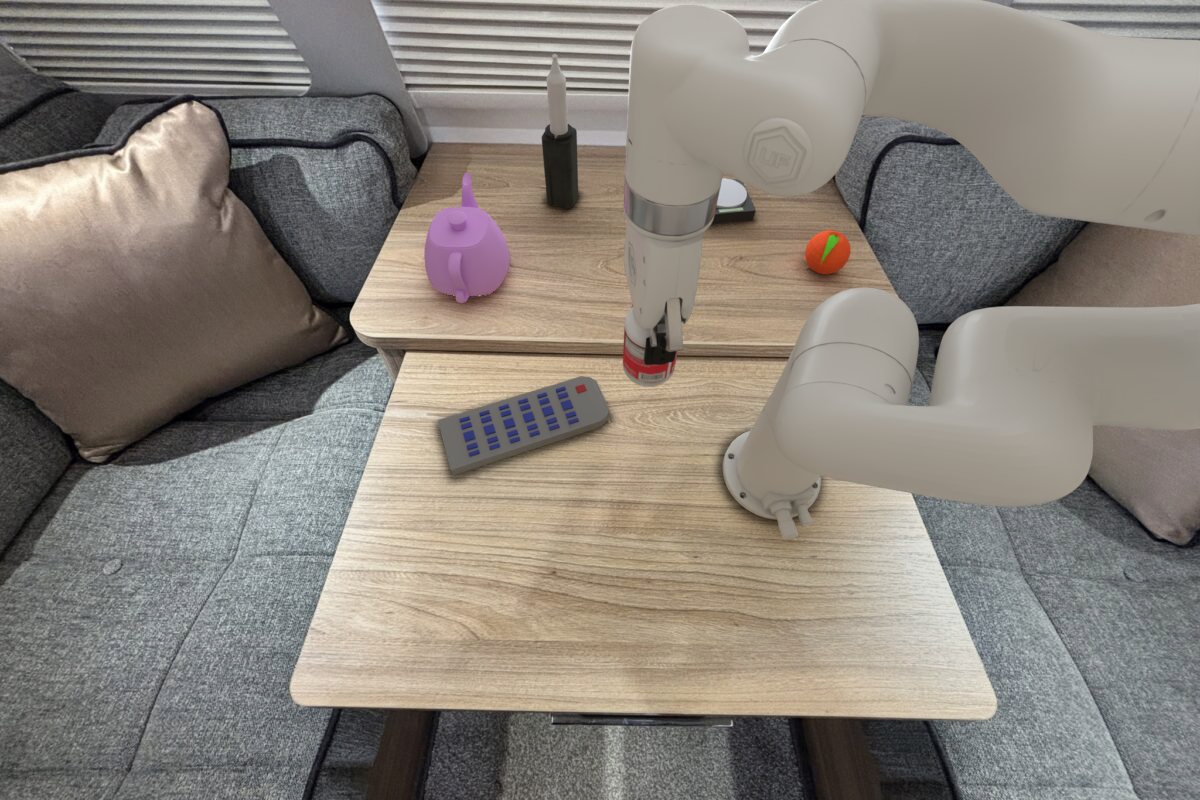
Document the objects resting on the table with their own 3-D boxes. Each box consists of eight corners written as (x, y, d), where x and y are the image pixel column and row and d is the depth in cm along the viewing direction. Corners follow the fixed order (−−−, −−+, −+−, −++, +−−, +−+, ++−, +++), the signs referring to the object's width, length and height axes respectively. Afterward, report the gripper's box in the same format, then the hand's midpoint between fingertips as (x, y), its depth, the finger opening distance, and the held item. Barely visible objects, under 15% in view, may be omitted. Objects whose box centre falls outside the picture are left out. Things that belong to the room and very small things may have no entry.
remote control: (441, 426, 74) (437, 418, 72) (593, 379, 78) (593, 370, 76) (453, 476, 70) (449, 469, 68) (613, 423, 74) (613, 415, 72)
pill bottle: (650, 338, 65) (658, 272, 56) (685, 370, 63) (699, 306, 53) (611, 364, 63) (613, 300, 54) (646, 398, 61) (654, 337, 51)
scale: (752, 220, 96) (756, 207, 94) (704, 224, 96) (707, 212, 93) (738, 188, 101) (742, 175, 99) (692, 192, 100) (695, 179, 98)
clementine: (830, 292, 87) (848, 260, 81) (790, 276, 89) (805, 243, 83) (846, 263, 91) (864, 230, 85) (807, 248, 93) (822, 214, 87)
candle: (545, 204, 98) (532, 59, 77) (554, 187, 101) (544, 43, 79) (571, 210, 97) (565, 65, 76) (580, 193, 100) (576, 48, 79)
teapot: (507, 315, 84) (496, 259, 74) (423, 315, 84) (400, 259, 74) (516, 228, 95) (507, 169, 84) (441, 228, 94) (423, 169, 84)
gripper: (607, 136, 47) (606, 282, 62) (645, 277, 38) (632, 407, 53) (690, 129, 48) (668, 275, 63) (747, 266, 38) (705, 398, 54)
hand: (652, 335), depth 58 cm, fingers closed on pill bottle, 6 cm apart
